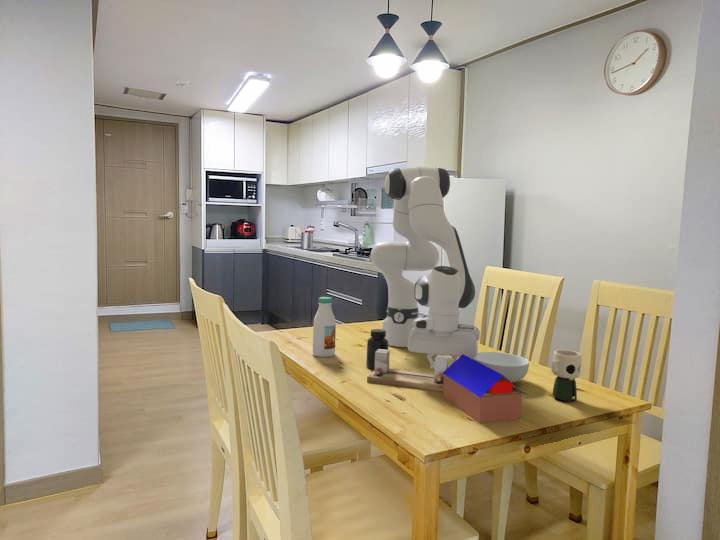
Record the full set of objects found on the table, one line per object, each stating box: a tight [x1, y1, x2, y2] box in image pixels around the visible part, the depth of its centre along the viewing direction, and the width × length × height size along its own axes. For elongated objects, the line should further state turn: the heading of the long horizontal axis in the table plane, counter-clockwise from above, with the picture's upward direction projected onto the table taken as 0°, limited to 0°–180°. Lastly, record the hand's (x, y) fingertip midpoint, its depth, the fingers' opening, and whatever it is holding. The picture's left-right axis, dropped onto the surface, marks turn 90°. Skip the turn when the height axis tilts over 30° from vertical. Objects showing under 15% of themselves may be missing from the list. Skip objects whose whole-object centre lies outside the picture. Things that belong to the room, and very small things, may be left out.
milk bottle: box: [312, 296, 337, 358], centre depth 183 cm, size 8×8×20 cm
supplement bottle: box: [365, 328, 389, 370], centre depth 171 cm, size 7×7×12 cm
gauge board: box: [366, 349, 444, 392], centre depth 157 cm, size 11×27×8 cm, turn 73°
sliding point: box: [433, 354, 450, 382], centre depth 155 cm, size 7×4×6 cm, turn 163°
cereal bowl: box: [471, 351, 530, 384], centre depth 161 cm, size 17×17×7 cm
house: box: [442, 354, 523, 424], centre depth 137 cm, size 12×20×12 cm, turn 18°
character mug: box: [550, 349, 583, 402], centre depth 146 cm, size 11×7×13 cm, turn 117°
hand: (441, 369), depth 156 cm, fingers closed on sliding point, 3 cm apart
